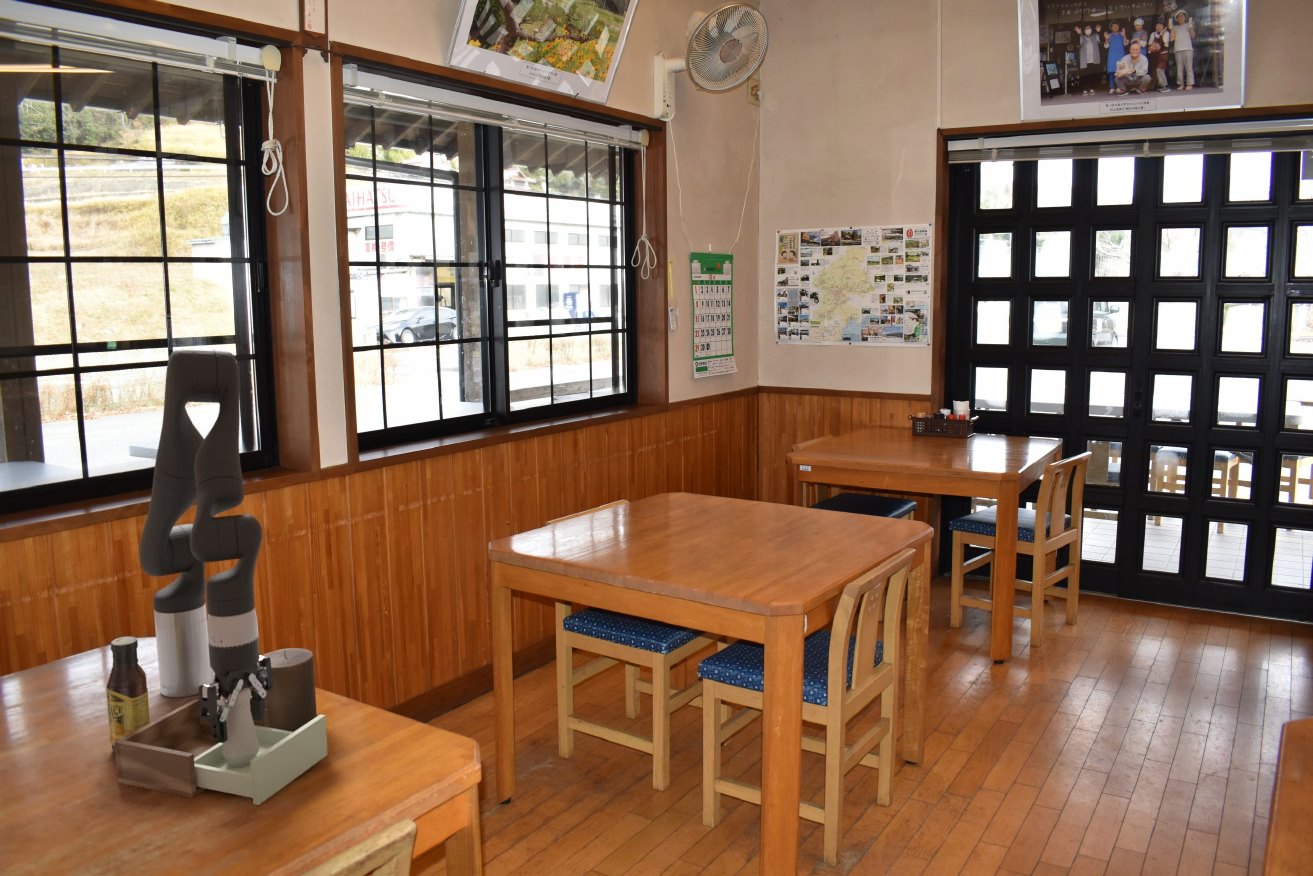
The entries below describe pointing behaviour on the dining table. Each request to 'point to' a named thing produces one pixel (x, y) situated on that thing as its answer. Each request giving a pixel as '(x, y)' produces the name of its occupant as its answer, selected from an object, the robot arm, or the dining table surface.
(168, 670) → the robot arm
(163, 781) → the cabinet
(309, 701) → the pillar candle
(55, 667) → the dining table surface
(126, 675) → the sauce bottle
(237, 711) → the salt shaker
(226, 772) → the drawer
